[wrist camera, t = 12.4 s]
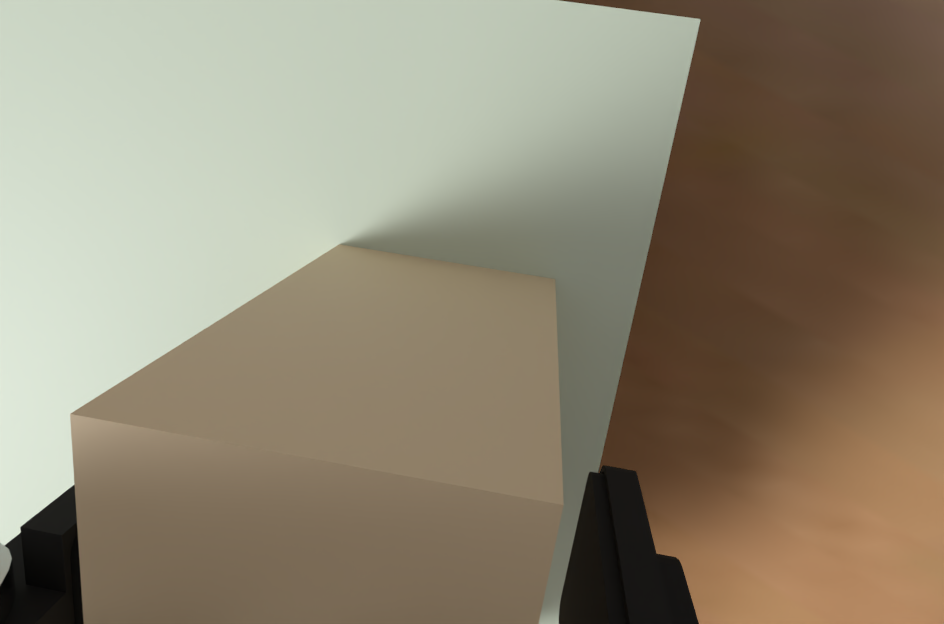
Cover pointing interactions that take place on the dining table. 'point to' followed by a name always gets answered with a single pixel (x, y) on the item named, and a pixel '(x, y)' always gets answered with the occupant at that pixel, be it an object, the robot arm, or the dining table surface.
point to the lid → (322, 294)
